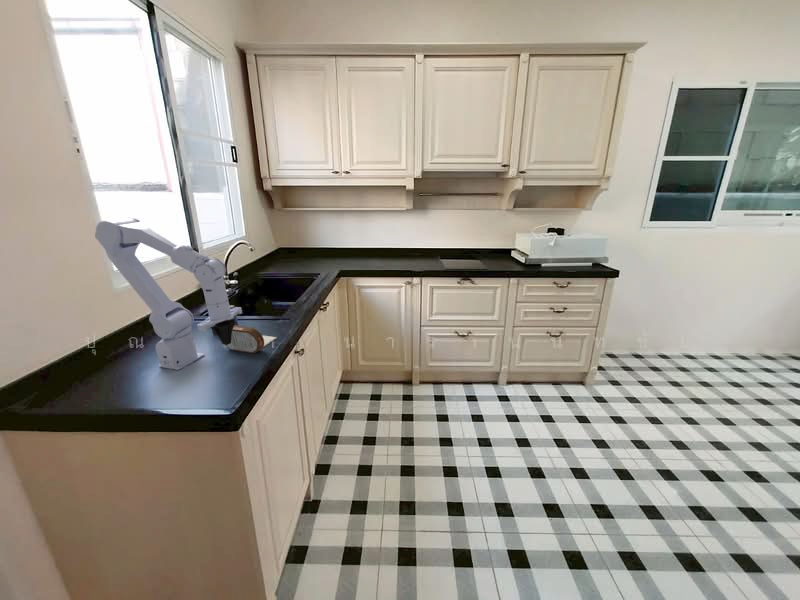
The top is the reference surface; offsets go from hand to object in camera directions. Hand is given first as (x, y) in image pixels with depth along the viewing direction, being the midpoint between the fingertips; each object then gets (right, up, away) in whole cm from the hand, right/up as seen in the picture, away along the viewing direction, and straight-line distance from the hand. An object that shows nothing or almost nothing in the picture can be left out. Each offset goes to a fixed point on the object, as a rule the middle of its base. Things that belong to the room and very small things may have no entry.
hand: (226, 343), depth 102 cm
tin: (+2, -3, +7) cm, 8 cm away
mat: (+4, -1, +13) cm, 13 cm away
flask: (-12, +2, +22) cm, 25 cm away
